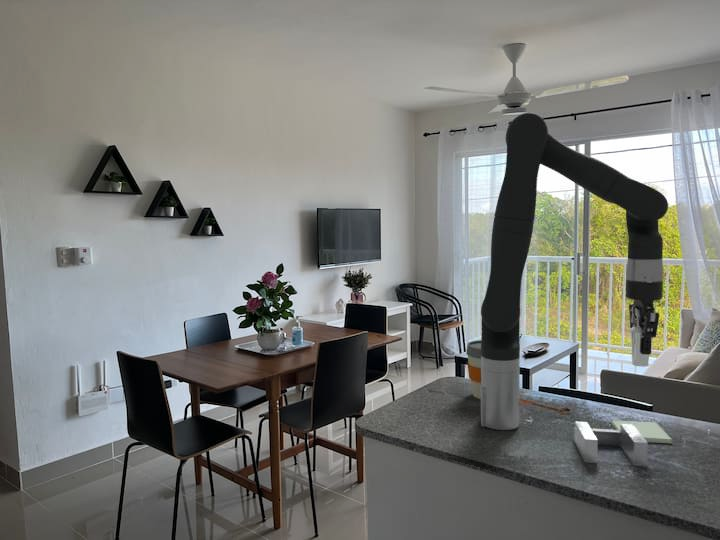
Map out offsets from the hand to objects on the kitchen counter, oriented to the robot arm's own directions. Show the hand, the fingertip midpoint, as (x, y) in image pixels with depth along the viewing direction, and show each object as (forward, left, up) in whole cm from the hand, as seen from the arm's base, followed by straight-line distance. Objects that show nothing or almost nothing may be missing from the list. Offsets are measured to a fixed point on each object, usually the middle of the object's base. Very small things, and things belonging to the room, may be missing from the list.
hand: (642, 351), depth 122 cm
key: (-20, +15, -20) cm, 32 cm away
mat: (0, 0, -20) cm, 20 cm away
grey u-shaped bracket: (-10, -13, -20) cm, 26 cm away
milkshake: (0, 0, -3) cm, 3 cm away
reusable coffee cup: (-34, +23, -20) cm, 46 cm away
